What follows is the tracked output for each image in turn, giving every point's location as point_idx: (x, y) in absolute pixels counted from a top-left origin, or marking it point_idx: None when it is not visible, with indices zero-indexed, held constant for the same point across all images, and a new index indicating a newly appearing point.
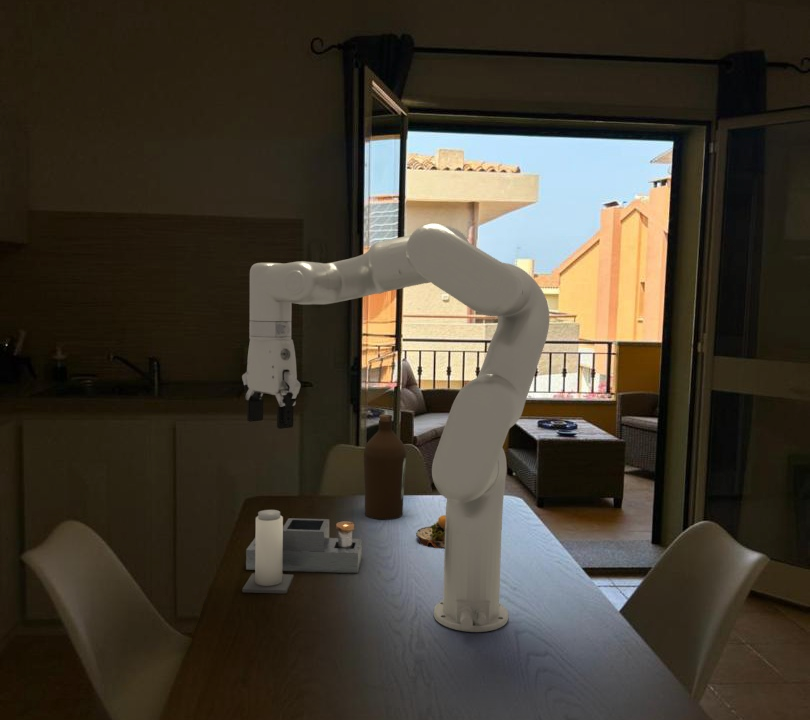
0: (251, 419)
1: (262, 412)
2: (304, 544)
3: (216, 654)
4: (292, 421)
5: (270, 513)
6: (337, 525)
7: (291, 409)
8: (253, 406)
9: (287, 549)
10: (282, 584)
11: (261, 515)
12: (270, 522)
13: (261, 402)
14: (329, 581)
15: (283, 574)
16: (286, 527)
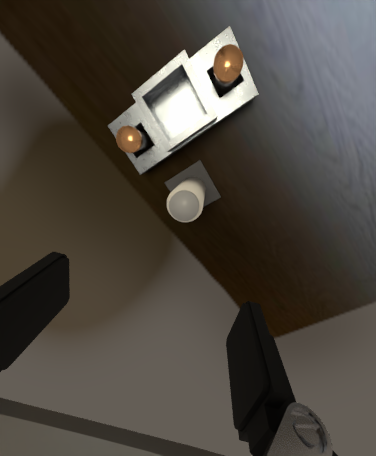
0: (66, 300)
1: (46, 276)
2: (194, 134)
3: (246, 294)
4: (262, 320)
5: (188, 210)
6: (221, 80)
7: (290, 394)
8: (25, 335)
9: (177, 147)
10: (208, 187)
11: (183, 220)
12: (198, 216)
13: (3, 315)
14: (238, 144)
15: (191, 166)
16: (162, 135)
